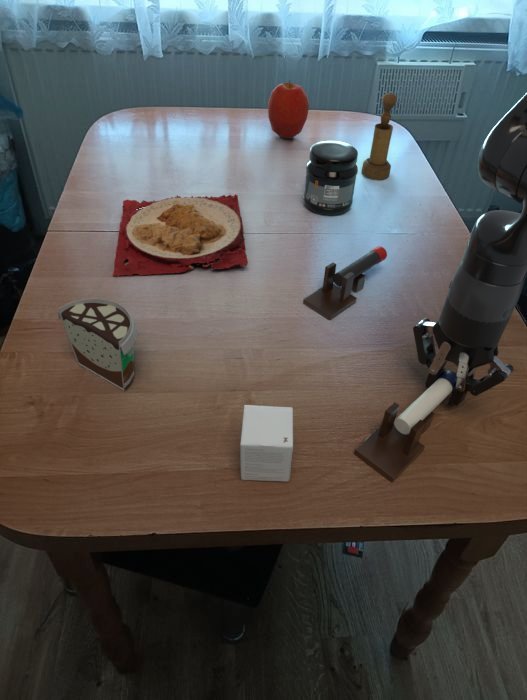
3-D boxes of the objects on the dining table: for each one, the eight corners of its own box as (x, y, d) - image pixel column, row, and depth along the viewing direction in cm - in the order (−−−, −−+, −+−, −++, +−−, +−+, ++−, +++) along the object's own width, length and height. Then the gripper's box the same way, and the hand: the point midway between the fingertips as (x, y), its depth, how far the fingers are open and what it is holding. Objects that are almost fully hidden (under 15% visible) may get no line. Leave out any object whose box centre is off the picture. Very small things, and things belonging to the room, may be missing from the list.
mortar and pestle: (355, 172, 127) (368, 92, 115) (373, 165, 131) (387, 86, 118) (377, 182, 124) (393, 101, 111) (395, 174, 127) (412, 94, 115)
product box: (290, 442, 70) (294, 406, 65) (289, 483, 66) (294, 447, 61) (243, 440, 70) (243, 403, 65) (239, 480, 66) (239, 444, 61)
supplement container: (330, 188, 121) (337, 135, 113) (362, 209, 115) (371, 154, 107) (292, 200, 116) (297, 145, 108) (323, 222, 110) (330, 166, 102)
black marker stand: (343, 277, 97) (348, 249, 93) (370, 292, 94) (376, 263, 90) (302, 303, 91) (305, 274, 87) (329, 320, 88) (334, 291, 84)
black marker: (373, 256, 97) (376, 243, 95) (385, 262, 96) (388, 249, 94) (331, 283, 91) (333, 270, 89) (343, 290, 90) (345, 277, 88)
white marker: (441, 379, 75) (446, 366, 74) (457, 390, 74) (463, 377, 72) (391, 427, 69) (395, 414, 67) (408, 438, 68) (413, 426, 66)
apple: (266, 143, 137) (268, 85, 127) (267, 127, 144) (269, 71, 135) (306, 145, 137) (312, 87, 127) (305, 129, 144) (310, 73, 135)
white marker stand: (402, 408, 75) (412, 378, 71) (439, 433, 72) (452, 404, 68) (353, 453, 69) (361, 424, 65) (392, 483, 66) (402, 454, 62)
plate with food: (237, 203, 115) (237, 187, 113) (248, 270, 97) (248, 253, 94) (124, 206, 113) (122, 191, 111) (112, 276, 94) (109, 259, 92)
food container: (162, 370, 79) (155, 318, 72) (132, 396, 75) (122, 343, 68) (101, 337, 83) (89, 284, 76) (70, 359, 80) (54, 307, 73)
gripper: (552, 313, 62) (501, 410, 74) (445, 261, 69) (415, 358, 81) (522, 344, 58) (473, 441, 70) (412, 286, 65) (385, 383, 77)
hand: (442, 396), depth 75 cm, fingers closed on white marker, 2 cm apart
